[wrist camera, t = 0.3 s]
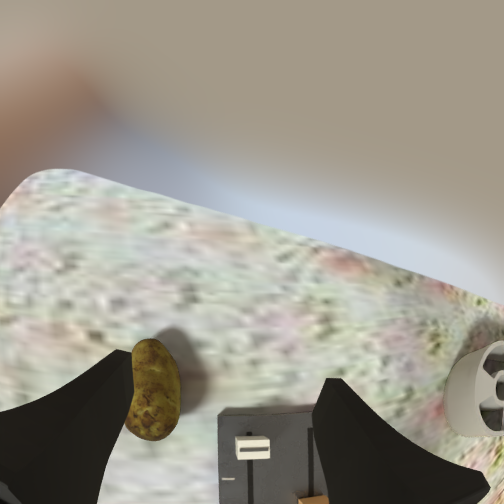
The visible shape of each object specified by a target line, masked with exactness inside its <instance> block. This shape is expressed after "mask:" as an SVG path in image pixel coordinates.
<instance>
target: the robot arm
mask: <svg viewBox="0 0 504 504" xmlns="http://www.w3.org/2000/svg"><path fill="white" fill-rule="evenodd" d="M134 393H135V392H134V380H133V367H132V353H131V352H126V351H122V350H118V349H116V350H115V351H113V352H112V353H110V354H109V355H108V356H106V357H105V358H103V359H102V360H101V361H99V362H98V363H97V364H95V365H94V366H93V367H91V368H90V369H88V370H87V371H86V372H84V373H83V374H81V375H80V376H78V377H77V378H75V379H74V380H72V381H71V382H69V383H67V384H66V385H64V386H63V387H61V388H59V389H58V390H56V391H54V392H52V393H50V394H48V395H46V396H44V397H42V398H40V399H37V400H35V401H33V402H30V403H27V404H24V405H22V406H19V407H16V408H13V409H10V410H6V411H2V412H0V504H97V501H98V496H99V492H100V487H101V483H102V479H103V476H104V472H105V468H106V465H107V462H108V459H109V457H110V454H111V452H112V450H113V447H114V445H115V443H116V441H117V438H118V436H119V434H120V432H121V429H122V427H123V425H124V422H125V420H126V418H127V416H128V413H129V410H130V406H131V403H132V399H133V396H134ZM311 415H312V425H313V433H314V439H315V443H316V447H317V451H318V454H319V458H320V462H321V466H322V469H323V473H324V477H325V481H326V485H327V491H328V499H329V504H477V503H478V502H479V501H480V500H482V499H483V498H484V497H485V496H486V495H487V493H488V492H489V490H490V488H491V487H490V486H489V484H488V482H487V480H486V479H485V477H484V475H483V473H482V472H480V471H477V470H473V469H470V468H466V467H463V466H459V465H457V464H454V463H452V462H449V461H447V460H444V459H442V458H440V457H438V456H436V455H434V454H432V453H430V452H428V451H426V450H424V449H423V448H421V447H419V446H418V445H416V444H414V443H413V442H411V441H410V440H408V439H407V438H406V437H404V436H403V435H401V434H400V433H399V432H397V431H396V430H395V429H394V428H392V427H391V426H390V425H389V424H388V423H386V422H385V421H384V420H383V419H382V418H381V417H380V416H379V415H377V414H376V413H375V412H374V411H373V410H372V409H371V408H370V407H369V406H368V405H367V404H366V403H365V402H364V401H363V400H362V399H361V398H360V397H359V396H358V395H357V394H356V393H355V392H354V391H353V390H352V389H351V388H350V387H349V386H348V385H347V384H346V383H345V382H344V381H343V380H342V379H341V378H326V380H325V383H324V385H323V388H322V390H321V393H320V395H319V398H318V400H317V403H316V405H315V407H314V410H313V412H312V414H311Z"/></svg>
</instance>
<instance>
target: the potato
mask: <svg viewBox="0 0 504 504" xmlns="http://www.w3.org/2000/svg"><path fill="white" fill-rule="evenodd" d="M132 367H133V380H134V392H135V393H134V396H133V399H132V403H131V406H130V410H129V413H128V416H127V418H126V420H125V422H124V423H125V426H126V428H127V429H128V430H129V431H130V432H132V433H133V434H134V435H136V436H137V437H139V438H141V439H144V440H149V441H159V440H162V439H164V438H165V437H167V436H168V435H169V434H170V433H171V432H172V431H173V430H174V428H175V427H176V425H177V423H178V420H179V415H180V406H181V395H180V386H181V384H180V377H179V372H178V368H177V365H176V363H175V360H174V359H173V357H172V356H171V354H170V353H169V352H168V350H167V349H166V348H165V346H164V345H163V344H162V343H161V342H159V341H158V340H156V339H144V340H142V341H140V342H138V343H137V344H136V345H135V346H134V348H133V350H132Z"/></svg>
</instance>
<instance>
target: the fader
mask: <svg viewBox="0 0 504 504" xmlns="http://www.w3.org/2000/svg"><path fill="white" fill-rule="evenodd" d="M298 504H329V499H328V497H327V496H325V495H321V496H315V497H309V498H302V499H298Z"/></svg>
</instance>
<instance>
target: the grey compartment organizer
mask: <svg viewBox="0 0 504 504" xmlns="http://www.w3.org/2000/svg"><path fill="white" fill-rule="evenodd" d="M485 359H489V360H495V361H500V362H504V341H502V340H500V341H497V342H494V343H492V344H489V345H487V346H486V347H484V348H482V349H479V350H477V351H474V352H472V353H469V354H467V355H465V356H464V357H463V358H462V359H460V360H459V361H458V362H457V363H456V364H455V365H454V367H453V368H452V370H451V372H450V374H449V376H448V378H447V381H446V384H445V389H444V397H443V406H444V413H445V417H446V420H447V423H448V425H449V426H450V428H451V429H452V430H453V431H454V432H455V433H457V434H459V435H461V436H464V437H484V436H485V437H496V436H504V411H503V418H502V425H501V430H500V431H493V430H491V429H489V428H488V427H487V426H486V424H485V423H484V421H483V419H482V416H481V413H480V411H497V410H502V409H504V370H501V371H498V372H494V373H492V374H491V375H489V374H488V373H487V372H486V371H485V370H484V369H483V364H484V361H485ZM496 384H498V385H497V395H496Z"/></svg>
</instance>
